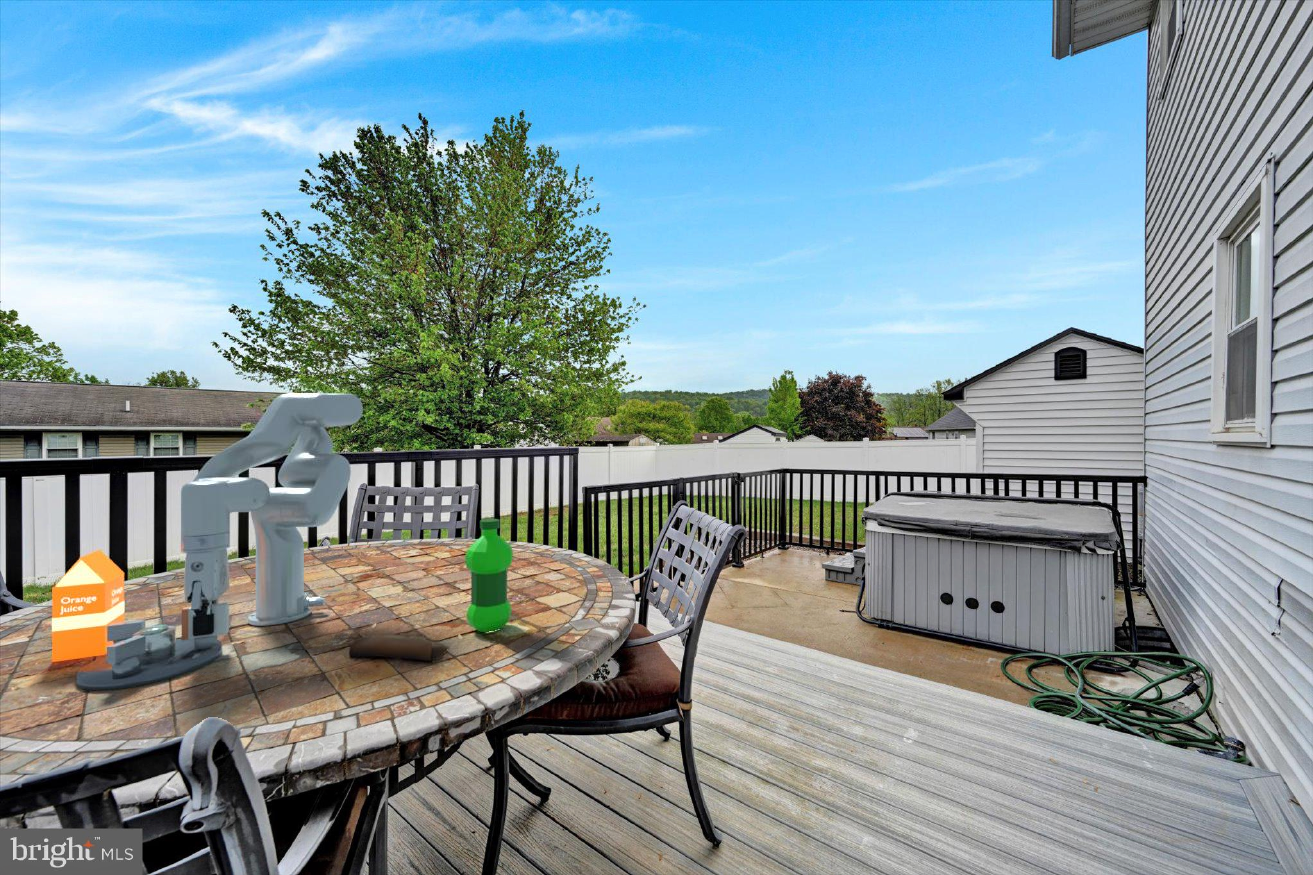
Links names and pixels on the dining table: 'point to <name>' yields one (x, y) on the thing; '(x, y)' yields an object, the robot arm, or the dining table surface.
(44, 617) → the dining table surface
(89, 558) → the orange juice
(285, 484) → the robot arm
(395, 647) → the sunglasses case
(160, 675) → the tribrach base
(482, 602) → the plastic bottle
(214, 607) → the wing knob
